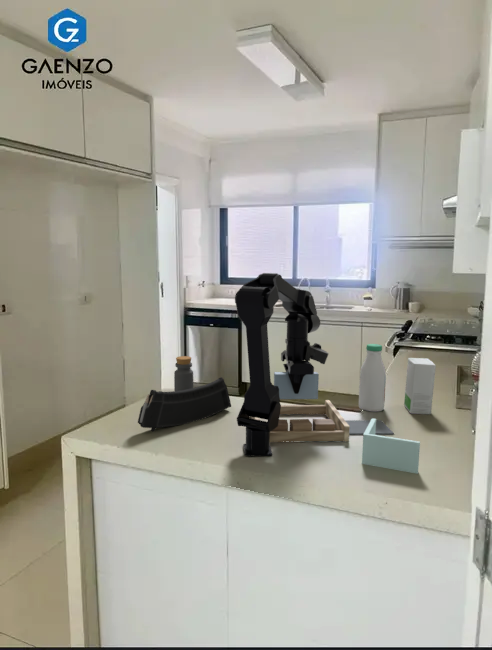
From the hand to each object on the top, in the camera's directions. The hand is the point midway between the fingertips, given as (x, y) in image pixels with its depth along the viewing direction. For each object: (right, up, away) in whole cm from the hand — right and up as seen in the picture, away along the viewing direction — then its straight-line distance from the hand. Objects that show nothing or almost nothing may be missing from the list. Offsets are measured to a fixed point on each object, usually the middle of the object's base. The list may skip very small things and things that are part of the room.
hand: (295, 392), depth 134 cm
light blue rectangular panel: (0, -2, 0) cm, 2 cm away
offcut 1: (-6, -10, -9) cm, 15 cm away
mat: (+19, -10, -2) cm, 21 cm away
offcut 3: (+6, -10, -8) cm, 15 cm away
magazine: (-30, -9, +2) cm, 32 cm away
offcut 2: (0, -10, -8) cm, 13 cm away
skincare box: (+39, -8, +15) cm, 42 cm away
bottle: (-33, -6, +17) cm, 38 cm away
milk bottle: (+25, -7, +16) cm, 30 cm away
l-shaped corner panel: (+20, -13, -21) cm, 32 cm away
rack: (0, -9, -2) cm, 10 cm away
